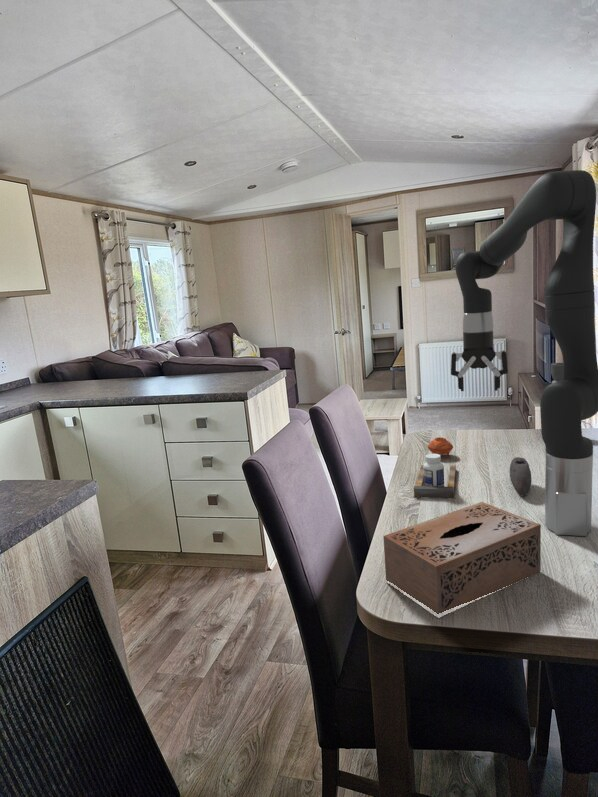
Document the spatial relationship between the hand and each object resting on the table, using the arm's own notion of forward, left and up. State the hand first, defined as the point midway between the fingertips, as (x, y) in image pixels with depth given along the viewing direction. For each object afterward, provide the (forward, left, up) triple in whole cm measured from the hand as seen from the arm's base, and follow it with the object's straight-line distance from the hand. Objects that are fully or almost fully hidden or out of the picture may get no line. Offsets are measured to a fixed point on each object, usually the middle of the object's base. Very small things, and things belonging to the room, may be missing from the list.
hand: (479, 390), depth 147 cm
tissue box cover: (-51, +4, -27) cm, 58 cm away
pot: (+23, +12, -26) cm, 37 cm away
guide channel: (-1, +12, -26) cm, 29 cm away
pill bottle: (-6, +12, -26) cm, 30 cm away
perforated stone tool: (-4, -10, -26) cm, 28 cm away
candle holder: (+46, -26, -26) cm, 59 cm away
